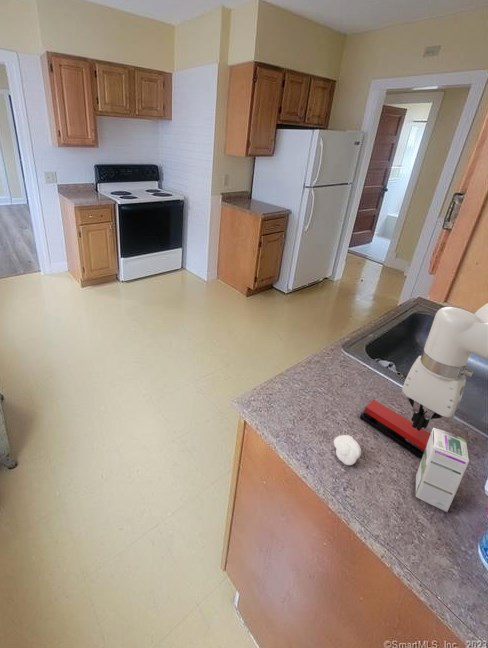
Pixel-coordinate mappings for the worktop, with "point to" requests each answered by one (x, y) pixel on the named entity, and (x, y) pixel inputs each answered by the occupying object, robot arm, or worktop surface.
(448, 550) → the worktop surface
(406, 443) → the stapler base
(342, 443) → the dumpling
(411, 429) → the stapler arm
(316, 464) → the worktop surface
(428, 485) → the syrup box
